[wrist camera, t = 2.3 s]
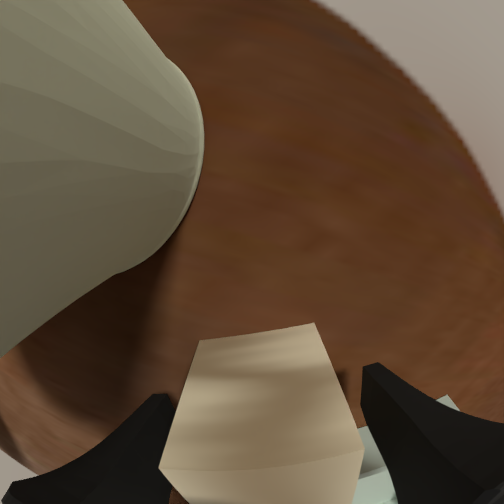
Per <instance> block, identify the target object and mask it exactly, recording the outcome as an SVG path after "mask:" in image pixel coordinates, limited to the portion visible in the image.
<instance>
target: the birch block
mask: <svg viewBox="0 0 504 504" xmlns="http://www.w3.org/2000/svg"><path fill="white" fill-rule="evenodd" d="M364 450H365V448H364V445H363V442H362V440H361V437H360V435H359V432H358V429H357V427H356V424H355V422H354V419H353V416H352V414H351V411H350V409H349V406H348V404H347V401H346V399H345V396H344V394H343V391H342V389H341V386H340V384H339V381H338V379H337V376H336V374H335V372H334V369H333V367H332V364H331V362H330V359H329V357H328V355H327V352H326V350H325V347H324V345H323V343H322V340H321V338H320V336H319V333H318V331H317V329H316V326H315V324H314V323H311V324H306V325H301V326H296V327H290V328H284V329H279V330H273V331H267V332H260V333H254V334H247V335H240V336H233V337H225V338H217V339H208V340H200V341H199V344H198V347H197V350H196V353H195V356H194V359H193V362H192V365H191V368H190V371H189V374H188V377H187V380H186V383H185V386H184V389H183V392H182V395H181V398H180V401H179V404H178V407H177V410H176V413H175V416H174V420H173V423H172V426H171V429H170V432H169V435H168V439H167V442H166V445H165V448H164V451H163V455H162V458H161V461H160V464H159V469H160V471H161V472H162V473H163V474H164V476H165V477H166V478H167V479H168V480H169V482H170V483H171V484H172V485H173V486H174V487H175V488H176V490H177V491H178V492H179V493H180V494H181V495H182V496H183V497H184V498H185V499H186V501H187V502H188V503H189V504H352V501H353V497H354V494H355V490H356V486H357V482H358V478H359V474H360V469H361V465H362V460H363V455H364Z"/></svg>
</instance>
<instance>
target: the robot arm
mask: <svg viewBox="0 0 504 504" xmlns="http://www.w3.org/2000/svg"><path fill="white" fill-rule="evenodd" d="M360 405H361V408H362V411H363V414H364V418H365V421H366V424H367V426H368V429H369V431H370V433H371V435H372V437H373V439H374V441H375V443H376V446H377V448H378V450H379V452H380V454H381V456H382V458H383V460H384V462H385V465H386V467H387V469H388V472H389V474H390V477H391V480H392V483H393V487H394V490H395V493H396V497H397V501H398V504H504V423H498V422H493V421H488V420H485V419H481V418H478V417H474V416H471V415H468V414H465V413H463V412H460V411H458V410H455V409H453V408H451V407H448V406H446V405H444V404H442V403H440V402H438V401H436V400H435V399H433V398H431V397H429V396H427V395H426V394H424V393H422V392H421V391H419V390H418V389H416V388H414V387H413V386H411V385H410V384H408V383H407V382H405V381H404V380H403V379H401V378H400V377H398V376H397V375H395V374H394V373H393V372H391V371H390V370H388V369H387V368H386V367H384V366H383V365H381V364H380V363H379V362H377V363H374V364H370V365H367V366H363V373H362V390H361V403H360ZM175 413H176V412H175V410H174V407H173V405H172V403H171V401H170V399H169V397H168V395H167V394H152V395H151V396H150V397H149V398H148V399H147V400H146V401H145V402H144V403H143V404H142V405H141V406H140V407H139V408H138V409H137V410H136V411H135V412H134V413H133V414H132V415H131V416H130V417H129V418H127V419H126V420H125V421H124V422H123V423H122V424H121V425H120V426H119V427H118V428H117V429H116V430H115V431H113V432H112V433H111V434H110V435H109V436H108V437H106V438H105V439H104V440H103V441H102V442H100V443H99V444H98V445H97V446H95V447H94V448H92V449H91V450H90V451H88V452H87V453H85V454H84V455H82V456H80V457H79V458H77V459H75V460H73V461H71V462H70V463H68V464H66V465H64V466H62V467H60V468H58V469H55V470H53V471H50V472H48V473H45V474H42V475H39V476H36V477H33V478H29V479H24V480H19V481H14V482H12V484H11V485H10V487H9V489H8V490H7V492H6V494H5V495H4V497H3V499H2V500H1V501H2V504H168V503H169V498H170V493H171V489H172V484H171V483H170V482H169V480H168V479H167V478H166V477H165V476H164V474H163V473H162V472H161V471H160V469H159V464H160V461H161V458H162V455H163V451H164V448H165V445H166V442H167V439H168V435H169V432H170V429H171V426H172V423H173V420H174V416H175Z"/></svg>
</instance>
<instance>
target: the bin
mask: <svg viewBox="0 0 504 504" xmlns="http://www.w3.org/2000/svg"><path fill="white" fill-rule="evenodd" d="M436 401H438V402H440V403H442V404H444V405H446V406H448V407H451V408H453V409H455V410H458V411H460V410H459V409H458V408H457V406H456V405H455V404H454V403H453V401H452V400H451V399H450V398H449V396H448V395H446V396H443V397H441V398H439V399H437V400H436ZM358 432H359V435H360V437H361V440H362V442H363V445H364V448H365V450H364V455H363V460H362V465H361V469H360V474H359V478H358V482H357V486H356V490H355V494H354V497H353V501H352V504H398V501H397V497H396V493H395V490H394V487H393V483H392V480H391V477H390V474H389V472H388V469H387V467H386V465H385V462H384V460H383V458H382V456H381V454H380V452H379V450H378V448H377V446H376V443H375V441H374V439H373V437H372V435H371V433H370V431H369V429H368V426H365V427H362V428H358Z"/></svg>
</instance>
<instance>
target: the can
mask: <svg viewBox="0 0 504 504" xmlns="http://www.w3.org/2000/svg"><path fill="white" fill-rule="evenodd" d="M203 154H204V126H203V118H202V113H201V109H200V106H199V102H198V99H197V97H196V94H195V92H194V90H193V88H192V86H191V84H190V82H189V81H188V79H187V78H186V76H185V75H184V74H183V73H182V71H181V70H180V69H179V68H178V67H177V66H176V65H175V64H173V63H172V62H171V61H170V60H169V59H167V58H166V57H165V55H164V54H163V53H162V51H161V50H160V49H159V47H158V46H157V45H156V44H155V42H154V41H153V40H152V38H151V37H150V36H149V35H148V33H147V32H146V31H145V29H144V28H143V27H142V25H141V24H140V23H139V21H138V20H137V19H136V17H135V16H134V15H133V14H132V12H131V11H130V10H129V8H128V7H127V6H126V5H125V3H124V2H123V1H122V0H0V358H1V357H2V356H3V355H5V354H6V353H7V352H8V351H10V350H11V349H12V348H13V347H14V346H16V345H17V344H18V343H19V342H21V341H22V340H23V339H25V338H26V337H27V336H28V335H30V334H31V333H32V332H34V331H35V330H36V329H37V328H39V327H40V326H41V325H43V324H44V323H45V322H47V321H48V320H49V319H51V318H52V317H53V316H55V315H56V314H57V313H59V312H60V311H61V310H63V309H64V308H66V307H67V306H68V305H70V304H71V303H73V302H74V301H75V300H77V299H78V298H80V297H81V296H83V295H84V294H86V293H87V292H89V291H90V290H92V289H93V288H95V287H96V286H98V285H99V284H101V283H102V282H104V281H105V280H107V279H108V278H110V277H111V276H113V275H115V274H117V273H120V272H124V271H126V270H128V269H130V268H132V267H134V266H136V265H138V264H140V263H141V262H143V261H144V260H146V259H147V258H148V257H150V256H151V255H152V254H154V253H155V252H156V251H157V250H158V249H159V248H160V247H161V246H162V245H163V244H164V243H165V242H166V241H167V239H168V238H169V237H170V236H171V235H172V233H173V232H174V231H175V229H176V228H177V226H178V225H179V223H180V222H181V220H182V218H183V217H184V215H185V213H186V211H187V209H188V207H189V205H190V203H191V201H192V198H193V196H194V193H195V190H196V188H197V185H198V181H199V177H200V173H201V169H202V163H203Z"/></svg>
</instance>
